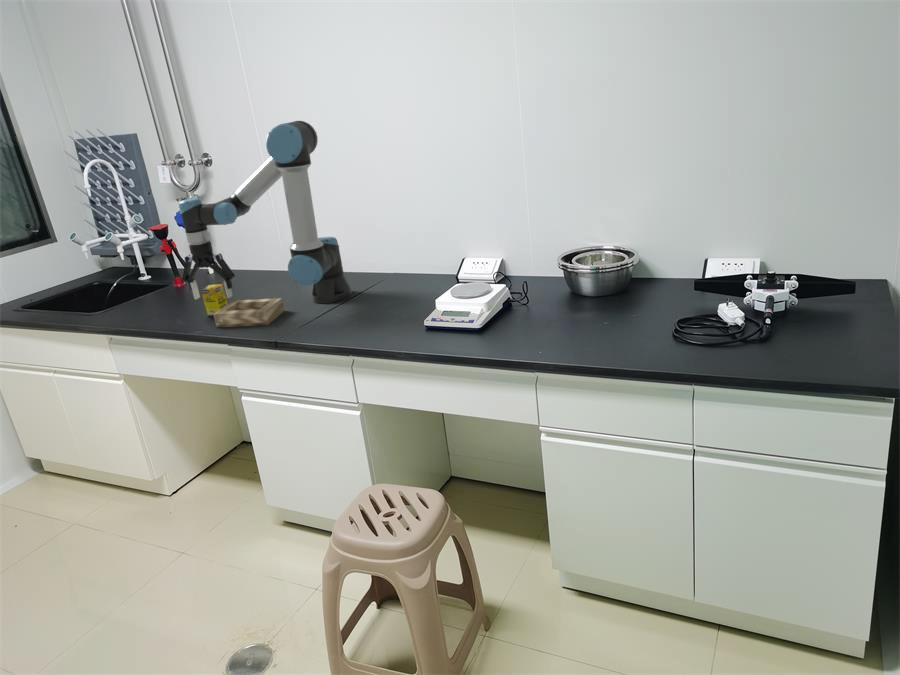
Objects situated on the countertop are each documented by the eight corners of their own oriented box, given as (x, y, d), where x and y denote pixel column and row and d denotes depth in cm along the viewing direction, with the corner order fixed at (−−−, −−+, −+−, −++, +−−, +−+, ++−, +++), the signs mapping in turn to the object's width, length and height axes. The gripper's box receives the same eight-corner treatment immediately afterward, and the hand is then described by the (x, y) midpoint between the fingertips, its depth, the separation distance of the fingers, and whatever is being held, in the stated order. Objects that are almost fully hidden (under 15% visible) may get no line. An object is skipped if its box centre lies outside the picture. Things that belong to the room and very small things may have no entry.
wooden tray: (284, 310, 237) (281, 298, 236) (268, 325, 225) (264, 311, 223) (235, 313, 242) (232, 300, 240) (216, 327, 229) (213, 314, 227)
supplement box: (222, 316, 240) (214, 289, 236) (207, 317, 241) (200, 289, 237) (230, 311, 245) (222, 283, 241) (216, 311, 247) (208, 284, 243)
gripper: (235, 237, 234) (248, 293, 242) (174, 241, 239) (189, 295, 247) (225, 243, 227) (239, 299, 235) (162, 246, 232) (178, 302, 240)
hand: (213, 297), depth 241 cm, fingers open, 13 cm apart
